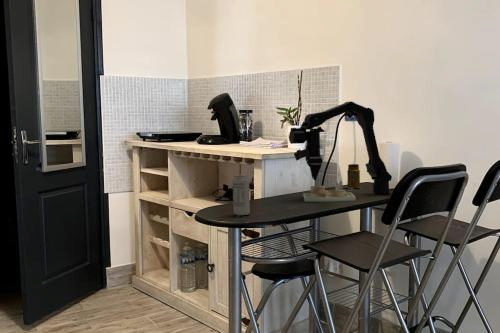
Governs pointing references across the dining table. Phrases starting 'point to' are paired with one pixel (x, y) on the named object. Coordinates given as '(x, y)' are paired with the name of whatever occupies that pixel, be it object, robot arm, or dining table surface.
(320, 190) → the wooden block frame
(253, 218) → the dining table surface
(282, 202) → the dining table surface
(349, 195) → the tray
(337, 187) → the cylinder
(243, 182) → the energy drink can
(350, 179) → the condiment
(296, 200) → the dining table surface
